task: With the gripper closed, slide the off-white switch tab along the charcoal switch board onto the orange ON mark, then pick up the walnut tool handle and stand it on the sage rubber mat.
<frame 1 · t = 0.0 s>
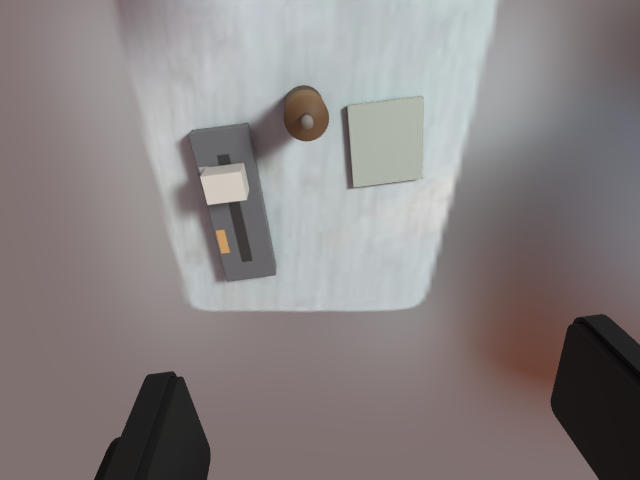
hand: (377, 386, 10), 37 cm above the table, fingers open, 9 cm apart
switch tab: (226, 183, 41), point 4 cm above the table, slide at 0.0 cm
switch board: (238, 204, 46), on the table
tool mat: (385, 142, 44), on the table
tool handle: (303, 105, 42), on the table
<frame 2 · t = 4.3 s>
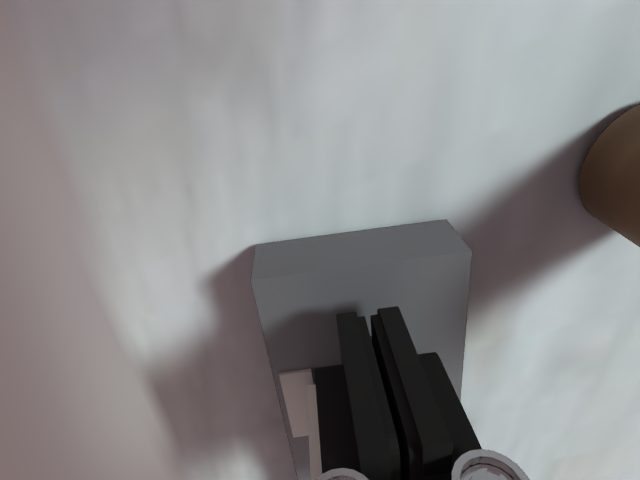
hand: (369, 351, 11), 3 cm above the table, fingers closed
switch tab: (383, 453, 11), point 4 cm above the table, slide at 0.3 cm, touching gripper
switch board: (367, 421, 17), on the table
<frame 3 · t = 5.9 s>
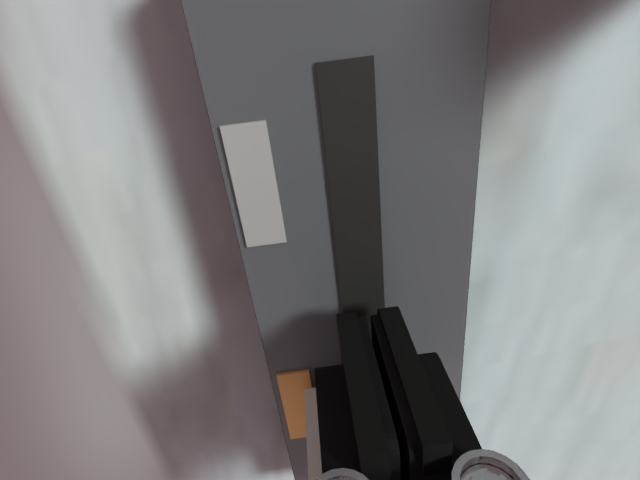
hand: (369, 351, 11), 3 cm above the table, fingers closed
switch tab: (382, 458, 11), point 4 cm above the table, slide at 7.9 cm, touching gripper
switch board: (353, 271, 13), on the table
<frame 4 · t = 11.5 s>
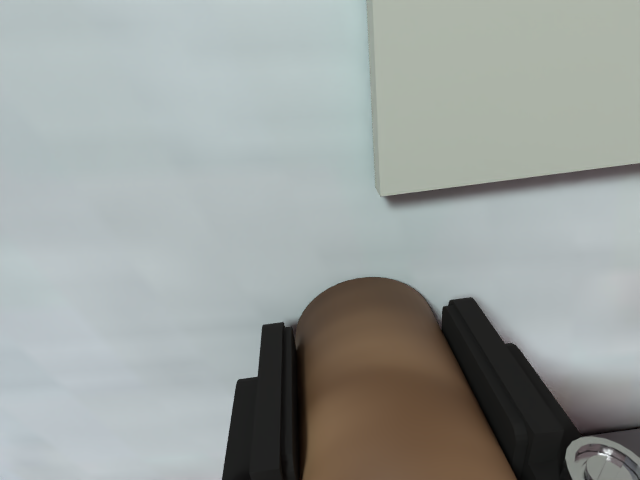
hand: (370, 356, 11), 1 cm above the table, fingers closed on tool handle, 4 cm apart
switch board: (628, 477, 16), on the table
tool handle: (365, 335, 11), on the table, touching gripper
when the fingers open (3 cm above the table, at t = 16.7 s): tool handle drops 1 cm, resting on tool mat.
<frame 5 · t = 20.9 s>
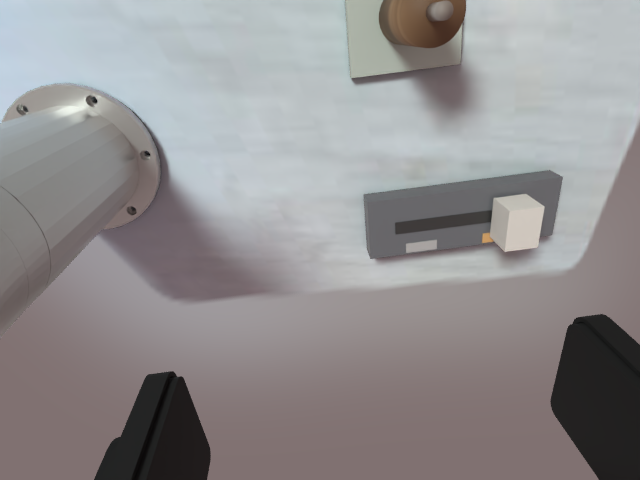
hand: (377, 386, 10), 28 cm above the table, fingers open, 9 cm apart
switch tab: (515, 222, 36), point 4 cm above the table, slide at 8.0 cm
switch board: (455, 211, 39), on the table
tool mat: (403, 15, 31), on the table
tool handle: (404, 16, 31), point 1 cm above the table, touching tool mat
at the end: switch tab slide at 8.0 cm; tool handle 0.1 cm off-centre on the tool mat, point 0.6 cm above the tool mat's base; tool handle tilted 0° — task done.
